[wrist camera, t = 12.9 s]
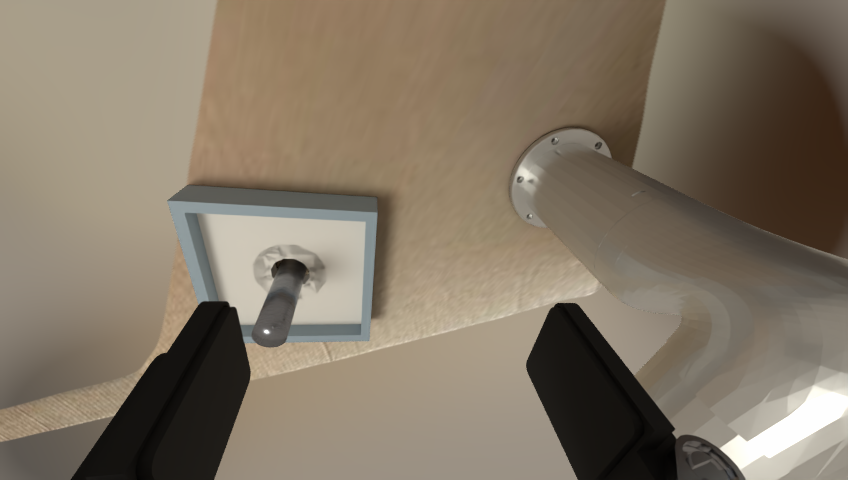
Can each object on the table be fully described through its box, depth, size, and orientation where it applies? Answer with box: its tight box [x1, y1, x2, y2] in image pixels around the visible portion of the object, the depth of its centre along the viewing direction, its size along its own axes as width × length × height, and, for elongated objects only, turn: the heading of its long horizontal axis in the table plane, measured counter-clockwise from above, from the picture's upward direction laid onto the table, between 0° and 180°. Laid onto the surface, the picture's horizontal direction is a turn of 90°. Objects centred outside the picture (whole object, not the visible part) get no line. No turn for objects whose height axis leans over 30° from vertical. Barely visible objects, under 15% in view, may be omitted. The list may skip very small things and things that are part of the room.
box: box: [167, 185, 378, 343], centre depth 39 cm, size 20×20×4 cm
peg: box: [251, 259, 307, 347], centre depth 36 cm, size 3×3×12 cm
